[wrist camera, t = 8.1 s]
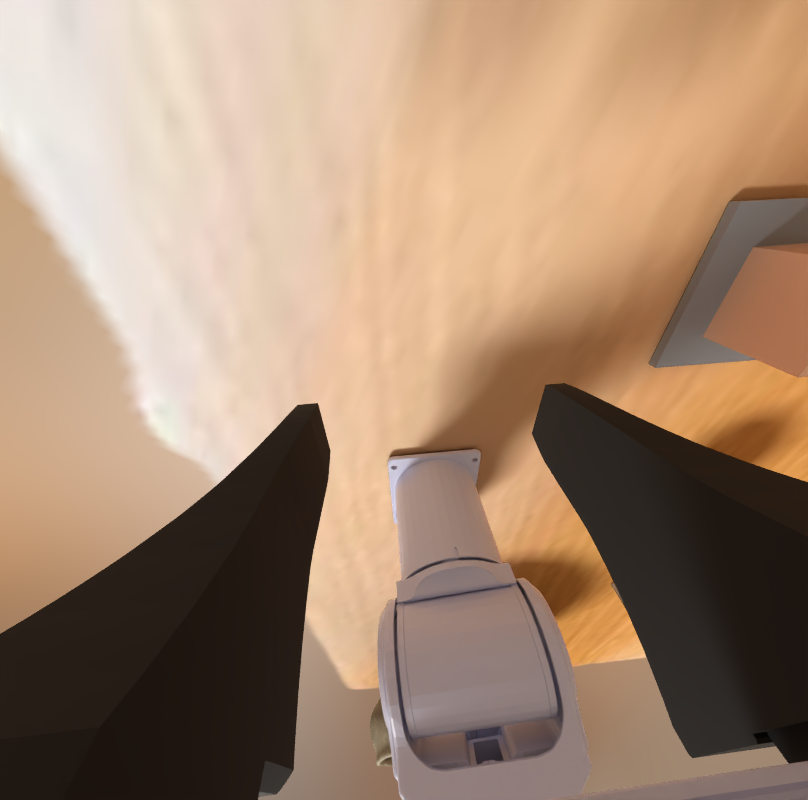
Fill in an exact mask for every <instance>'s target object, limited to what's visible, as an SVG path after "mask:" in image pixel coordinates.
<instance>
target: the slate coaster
mask: <svg viewBox="0 0 808 800" xmlns="http://www.w3.org/2000/svg"><path fill="white" fill-rule="evenodd" d="M801 243H808V197H801V198H782V199H764V200H745V201H730V202H729V204H728V206H727V208H726V210H725V212H724V214H723V216H722V218H721V220H720V222H719V224H718V226H717V228H716V230H715V232H714V234H713V236H712V238H711V240H710V242H709V244H708V246H707V248H706V250H705V252H704V254H703V256H702V258H701V260H700V262H699V264H698V266H697V268H696V270H695V272H694V274H693V276H692V278H691V280H690V282H689V284H688V286H687V288H686V290H685V292H684V294H683V296H682V298H681V300H680V302H679V304H678V306H677V308H676V310H675V312H674V314H673V316H672V318H671V320H670V322H669V324H668V326H667V328H666V330H665V332H664V334H663V336H662V338H661V340H660V342H659V344H658V346H657V348H656V350H655V352H654V354H653V356H652V358H651V361H650V363H649V364H650V365H651V366H653V367H655V368H660V367H672V366H685V365H697V364H710V363H722V362H735V361H748V360H756V359H753V358H751V357H749V356H746V355H744V354H742V353H739V352H737V351H735V350H732V349H730V348H728V347H725V346H723V345H720V344H718V343H716V342H713V341H711V340H709V339H706V338H704V337H703V335H704V333H705V332H706V330H707V328H708V326H709V324H710V323H711V321H712V319H713V317H714V316H715V314H716V312H717V310H718V309H719V307H720V305H721V303H722V301H723V300H724V298H725V296H726V294H727V293H728V291H729V289H730V287H731V286H732V284H733V282H734V280H735V279H736V277H737V275H738V273H739V271H740V270H741V268H742V266H743V264H744V263H745V261H746V259H747V257H748V256H749V254H750V252H751V250H752V248H753V247H763V246H776V245H788V244H801Z"/></svg>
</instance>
